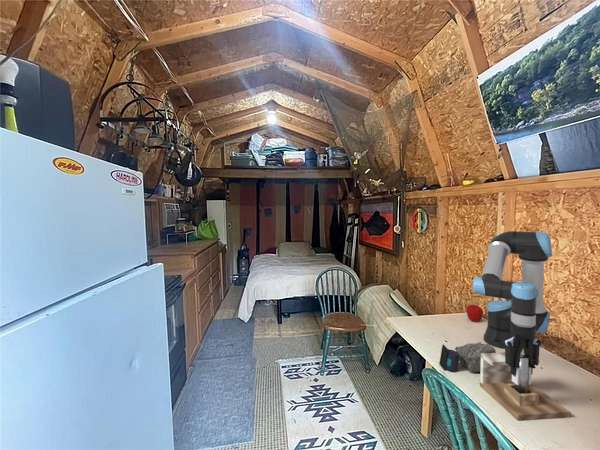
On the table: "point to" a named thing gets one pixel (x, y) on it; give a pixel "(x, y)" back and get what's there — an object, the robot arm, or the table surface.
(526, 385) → the peg
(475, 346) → the rock
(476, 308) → the apple
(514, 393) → the socket board
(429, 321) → the table surface
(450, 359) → the speaker
